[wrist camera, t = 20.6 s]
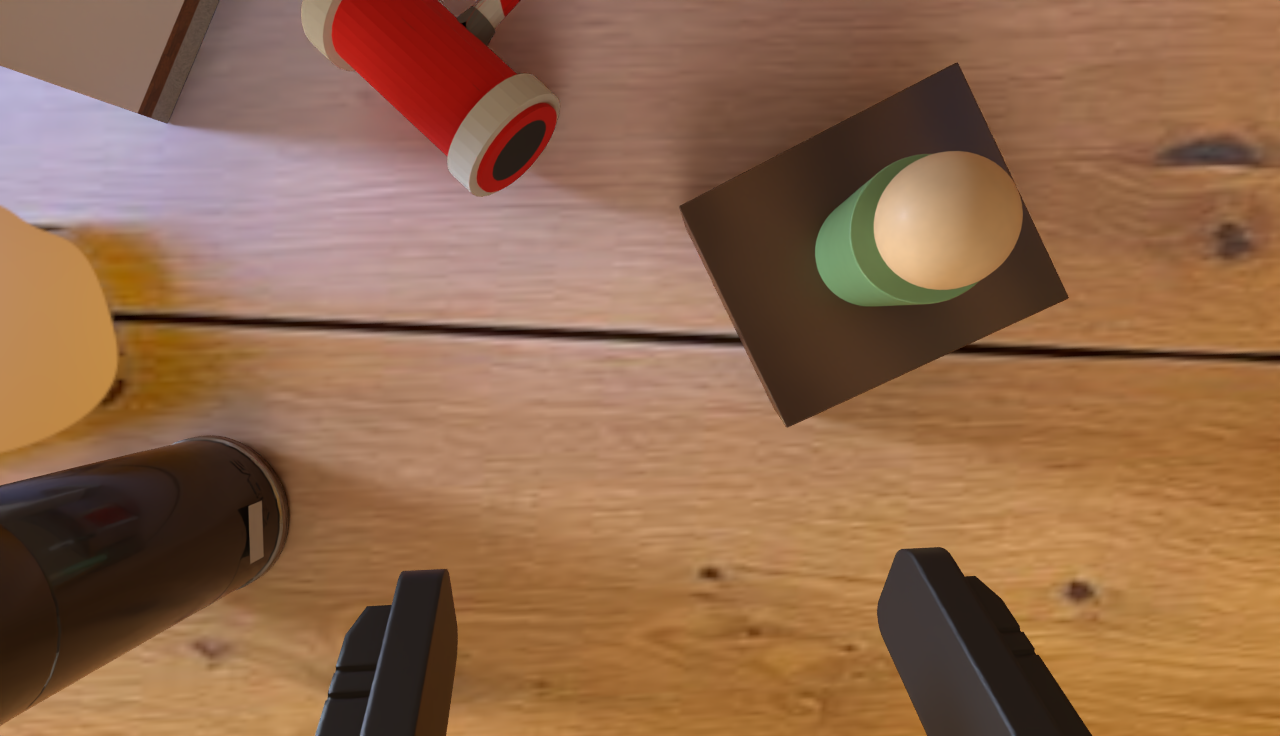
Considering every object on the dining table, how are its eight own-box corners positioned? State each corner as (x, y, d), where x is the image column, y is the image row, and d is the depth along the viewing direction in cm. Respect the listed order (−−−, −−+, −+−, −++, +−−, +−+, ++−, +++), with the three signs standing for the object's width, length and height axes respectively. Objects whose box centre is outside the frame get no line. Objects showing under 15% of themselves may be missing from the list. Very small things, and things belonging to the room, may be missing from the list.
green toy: (843, 325, 30) (924, 332, 18) (796, 226, 29) (847, 172, 18) (948, 275, 29) (1096, 251, 18) (899, 174, 29) (1019, 85, 18)
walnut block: (773, 408, 37) (786, 428, 30) (684, 225, 36) (678, 206, 30) (1003, 300, 35) (1070, 298, 28) (912, 108, 35) (957, 61, 28)
